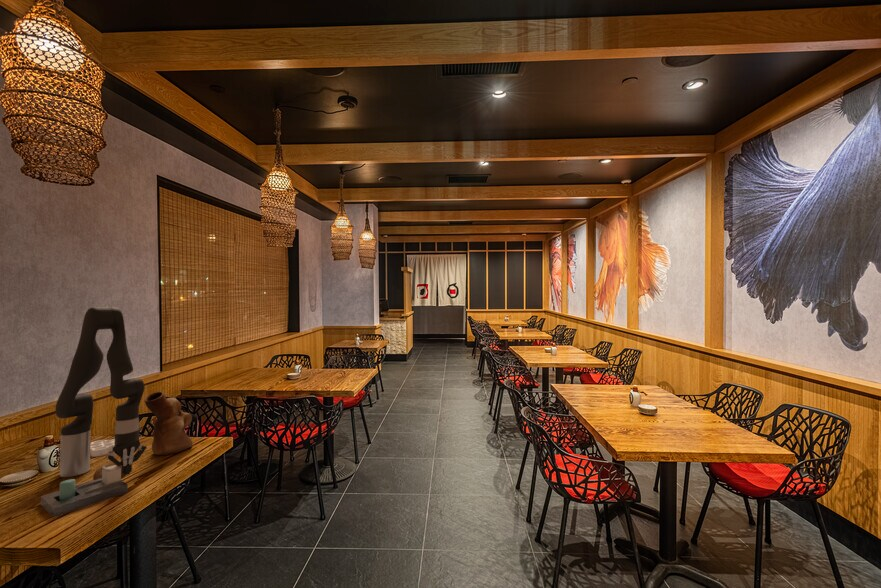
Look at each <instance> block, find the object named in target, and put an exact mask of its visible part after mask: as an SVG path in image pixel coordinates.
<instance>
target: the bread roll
mask: <svg viewBox="0 0 881 588" xmlns="http://www.w3.org/2000/svg"><path fill="white" fill-rule="evenodd" d="M114 465H116V464H114V463H113V462H112V461H108V462H106V463H103V464H102V465H100V466H99V467H98V468H97V469H96V470H95V471H94V473H93V477H92V481H93V480H96V479H100V478H102V467H106V468H107V467H110V466H114ZM116 466H118V465H116ZM118 467H120V468H121V478H122V477H124V476H125V475H124V474H122V466H118Z"/></svg>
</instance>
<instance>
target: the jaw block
mask: <svg viewBox="0 0 881 588" xmlns="http://www.w3.org/2000/svg"><path fill="white" fill-rule="evenodd" d="M120 480H122V477H121V468H120V467H118V466H116V465H114V466H110V467H107V468H106V467H102V482H103V483H104V484H106V485H107V484H110V483H114V482H117V481H120Z"/></svg>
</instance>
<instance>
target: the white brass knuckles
mask: <svg viewBox="0 0 881 588" xmlns="http://www.w3.org/2000/svg"><path fill="white" fill-rule="evenodd" d="M114 446H115V438H113V439H97V440H95V441H92V442H91V441H90V458H92V457H93V458H95V457H96V458H97V457H102V456H104V455H105V456H106V455H108V454H110V453H111V452H112V451H113V448H114Z"/></svg>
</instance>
